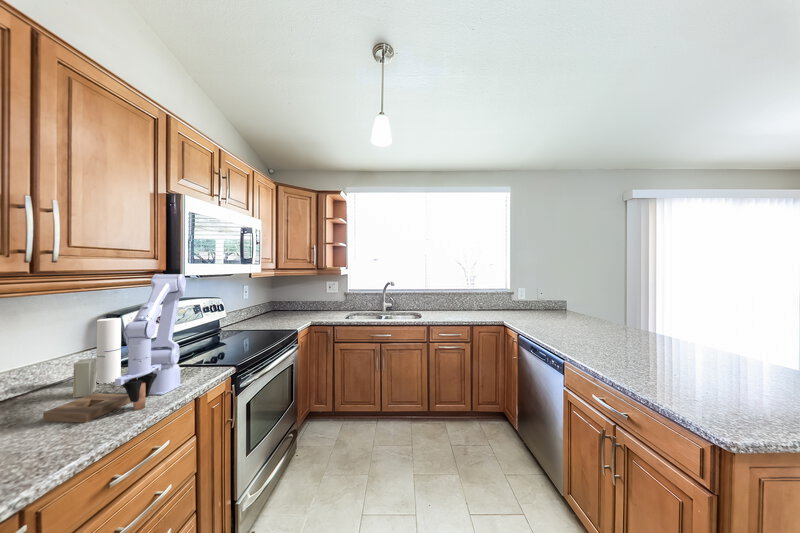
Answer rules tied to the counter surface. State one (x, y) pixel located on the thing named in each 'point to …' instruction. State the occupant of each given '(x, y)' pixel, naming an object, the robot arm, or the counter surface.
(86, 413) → the walnut socket plate
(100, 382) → the cylindrical container
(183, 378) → the counter surface
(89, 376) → the skincare box
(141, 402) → the terracotta peg
